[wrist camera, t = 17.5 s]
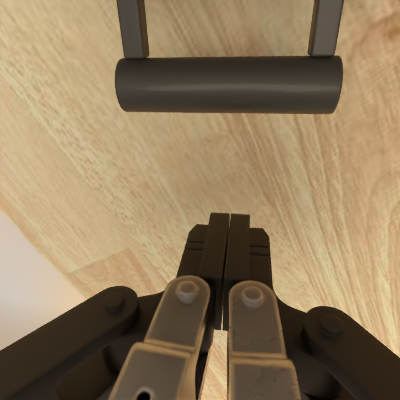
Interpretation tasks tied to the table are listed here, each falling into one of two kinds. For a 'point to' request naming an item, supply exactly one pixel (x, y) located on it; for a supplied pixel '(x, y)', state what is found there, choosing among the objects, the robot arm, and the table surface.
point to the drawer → (230, 73)
